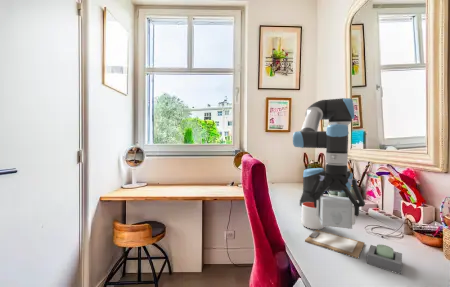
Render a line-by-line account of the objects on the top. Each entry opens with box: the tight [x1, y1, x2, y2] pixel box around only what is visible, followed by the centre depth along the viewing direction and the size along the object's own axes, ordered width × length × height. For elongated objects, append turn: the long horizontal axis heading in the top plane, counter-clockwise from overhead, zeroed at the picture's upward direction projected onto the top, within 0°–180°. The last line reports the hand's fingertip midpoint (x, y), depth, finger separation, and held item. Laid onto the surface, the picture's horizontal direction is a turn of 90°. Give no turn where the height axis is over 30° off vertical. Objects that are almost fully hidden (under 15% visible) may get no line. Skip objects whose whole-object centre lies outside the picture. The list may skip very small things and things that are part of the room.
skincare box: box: [319, 195, 353, 230], centre depth 83 cm, size 10×6×10 cm, turn 76°
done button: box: [376, 244, 394, 260], centre depth 70 cm, size 4×4×3 cm
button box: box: [366, 244, 403, 275], centre depth 70 cm, size 9×9×3 cm
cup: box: [300, 202, 325, 230], centre depth 99 cm, size 10×10×10 cm
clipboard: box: [304, 229, 365, 259], centre depth 83 cm, size 18×14×1 cm
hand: (335, 219), depth 83 cm, fingers closed on skincare box, 12 cm apart
